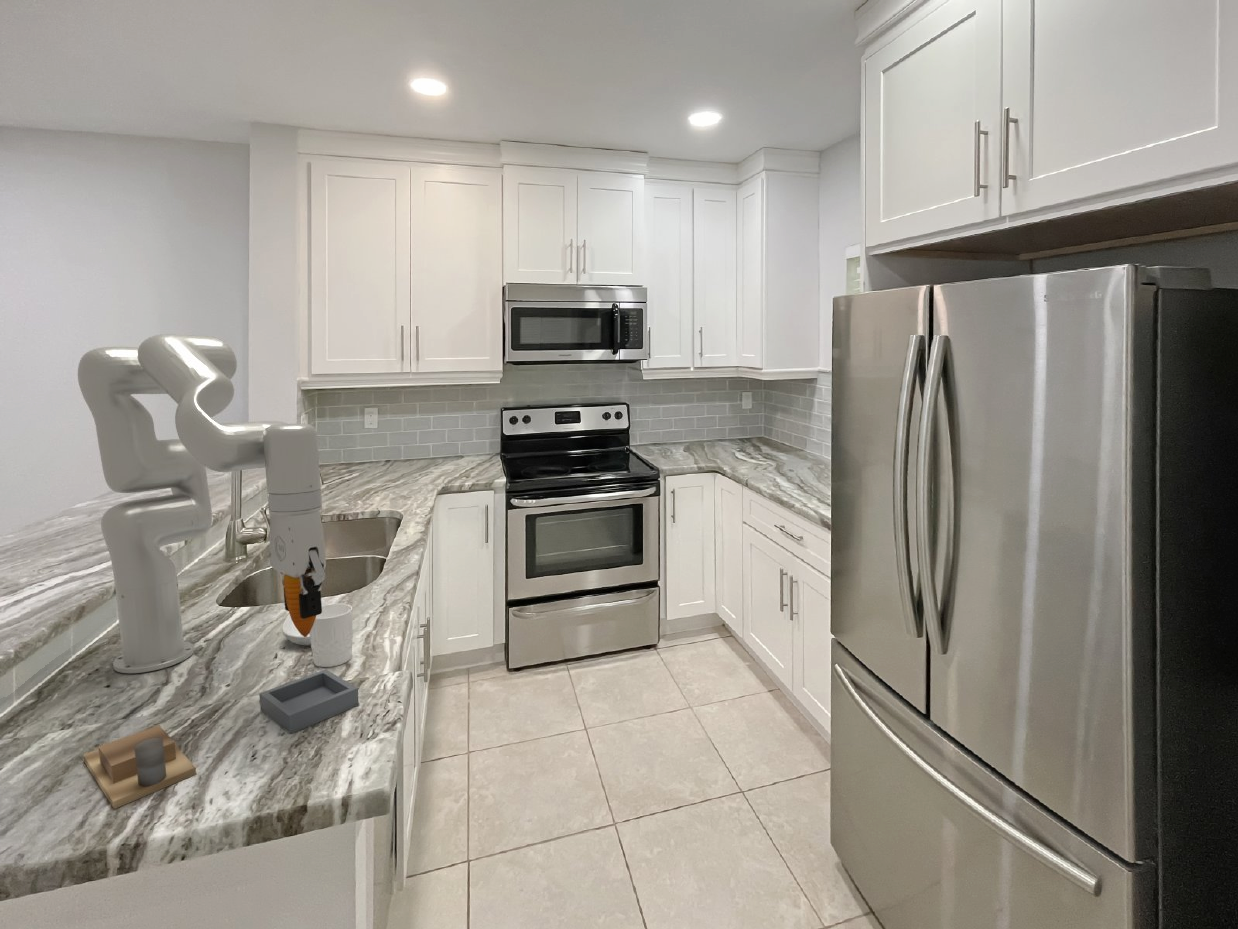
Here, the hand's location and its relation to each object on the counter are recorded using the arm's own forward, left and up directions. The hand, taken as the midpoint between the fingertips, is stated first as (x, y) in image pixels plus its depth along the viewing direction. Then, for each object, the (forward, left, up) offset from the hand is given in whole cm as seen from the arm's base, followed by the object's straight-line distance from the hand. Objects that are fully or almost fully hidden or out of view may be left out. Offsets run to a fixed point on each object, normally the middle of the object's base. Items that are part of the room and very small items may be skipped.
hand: (303, 611), depth 100 cm
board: (-3, -23, -17) cm, 28 cm away
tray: (0, 0, -17) cm, 17 cm away
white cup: (-15, +11, -17) cm, 25 cm away
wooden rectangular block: (-3, -23, -16) cm, 28 cm away
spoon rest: (-33, +15, -17) cm, 40 cm away
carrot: (0, 0, -5) cm, 5 cm away
